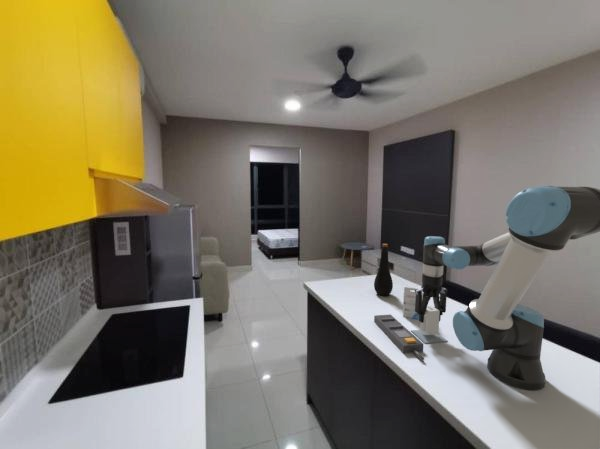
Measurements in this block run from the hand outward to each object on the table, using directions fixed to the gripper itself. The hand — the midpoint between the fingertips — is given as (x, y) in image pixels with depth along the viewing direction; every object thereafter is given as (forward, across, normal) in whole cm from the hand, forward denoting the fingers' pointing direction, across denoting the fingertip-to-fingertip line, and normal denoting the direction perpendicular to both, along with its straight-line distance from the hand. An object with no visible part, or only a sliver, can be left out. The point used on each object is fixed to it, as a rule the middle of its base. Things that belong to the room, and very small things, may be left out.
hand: (429, 328), depth 116 cm
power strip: (+3, +13, 0) cm, 13 cm away
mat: (+3, 0, 0) cm, 3 cm away
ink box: (+4, -4, -19) cm, 20 cm away
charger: (+1, 0, 0) cm, 1 cm away
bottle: (+4, -3, -49) cm, 49 cm away
